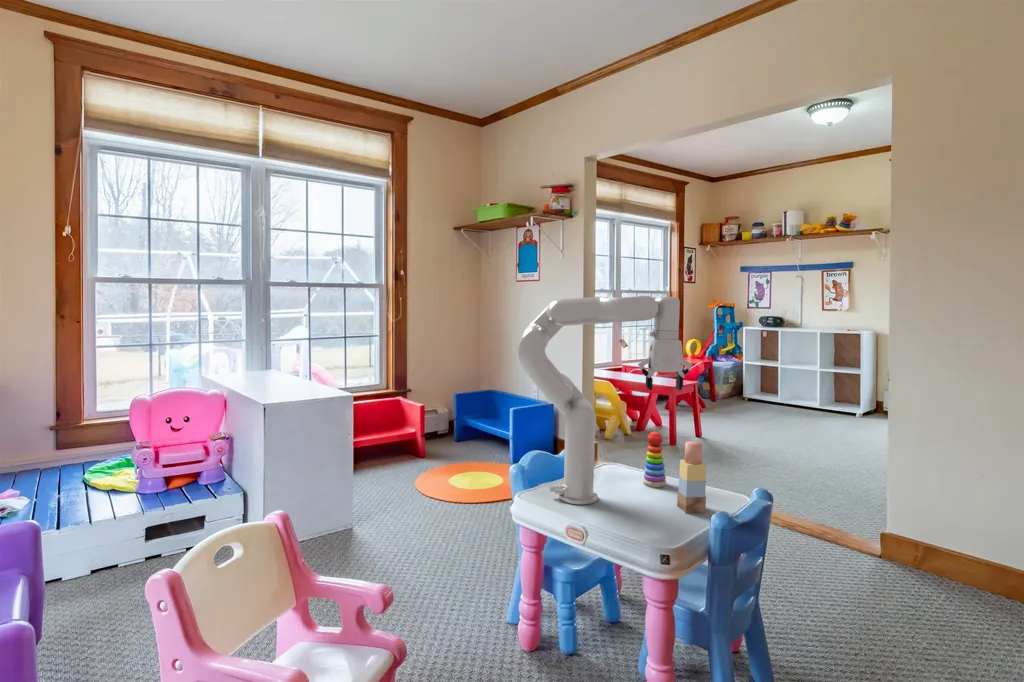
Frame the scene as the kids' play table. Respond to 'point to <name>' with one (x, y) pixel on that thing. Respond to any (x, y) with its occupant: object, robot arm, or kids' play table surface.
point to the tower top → (692, 471)
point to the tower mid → (692, 488)
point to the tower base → (691, 504)
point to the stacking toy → (654, 462)
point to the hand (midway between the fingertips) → (664, 389)
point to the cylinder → (693, 452)
